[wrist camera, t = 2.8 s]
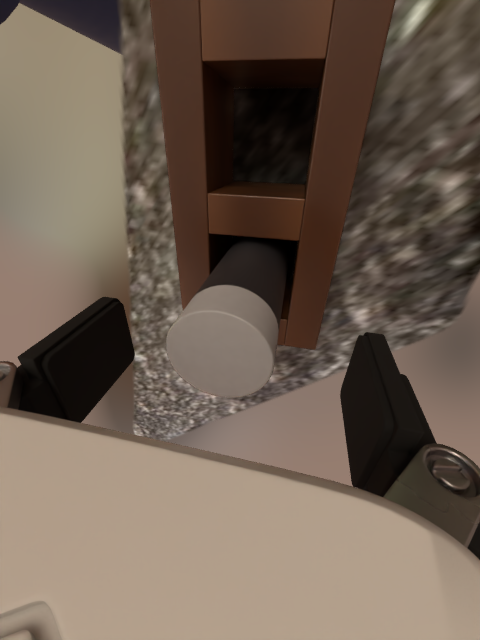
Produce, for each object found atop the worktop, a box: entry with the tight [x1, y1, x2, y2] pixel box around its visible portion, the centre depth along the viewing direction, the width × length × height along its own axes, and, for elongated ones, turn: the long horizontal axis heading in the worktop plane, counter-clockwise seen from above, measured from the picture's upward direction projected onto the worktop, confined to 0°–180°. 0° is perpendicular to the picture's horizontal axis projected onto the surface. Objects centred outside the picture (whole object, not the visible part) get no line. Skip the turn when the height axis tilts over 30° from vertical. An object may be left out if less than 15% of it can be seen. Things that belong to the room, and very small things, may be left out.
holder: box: [150, 0, 395, 350], centre depth 16 cm, size 9×16×6 cm, turn 178°
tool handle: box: [166, 236, 291, 398], centre depth 15 cm, size 4×4×13 cm
